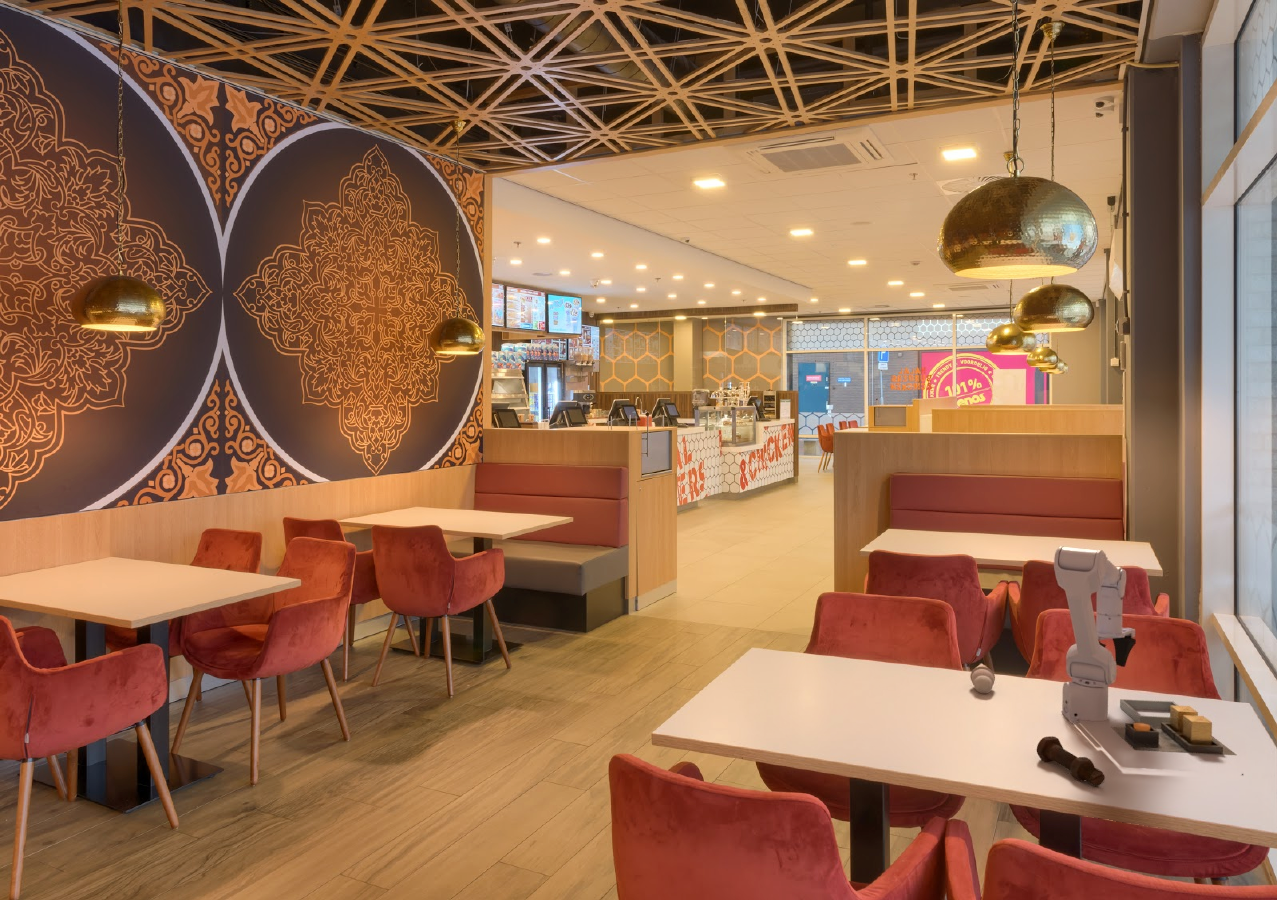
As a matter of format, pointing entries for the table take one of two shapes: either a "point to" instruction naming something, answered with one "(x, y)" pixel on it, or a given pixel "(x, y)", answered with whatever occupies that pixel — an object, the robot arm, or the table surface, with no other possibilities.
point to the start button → (1141, 727)
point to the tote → (1146, 704)
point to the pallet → (1166, 741)
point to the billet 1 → (1179, 716)
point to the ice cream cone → (982, 679)
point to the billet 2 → (1197, 730)
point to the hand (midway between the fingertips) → (1108, 667)
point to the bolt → (1069, 761)
